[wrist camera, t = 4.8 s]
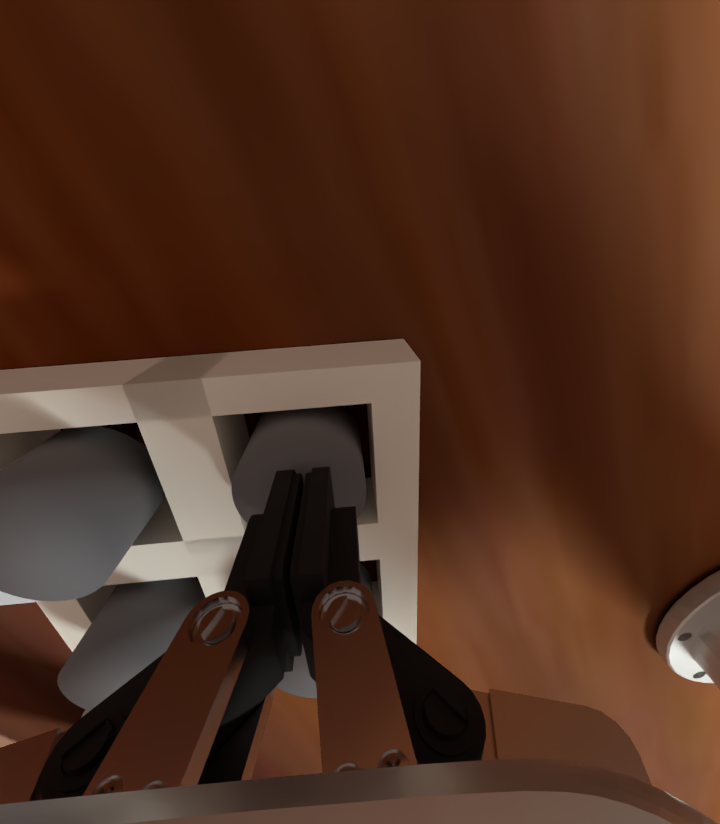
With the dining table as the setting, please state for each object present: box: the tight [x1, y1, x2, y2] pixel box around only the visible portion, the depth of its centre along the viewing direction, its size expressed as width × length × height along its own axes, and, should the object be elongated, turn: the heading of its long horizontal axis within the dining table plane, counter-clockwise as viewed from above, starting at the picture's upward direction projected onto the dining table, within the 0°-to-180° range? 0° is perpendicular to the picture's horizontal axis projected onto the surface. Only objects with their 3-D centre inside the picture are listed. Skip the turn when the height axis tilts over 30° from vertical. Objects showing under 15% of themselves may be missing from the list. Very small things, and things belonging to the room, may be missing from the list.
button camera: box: [0, 426, 165, 601], centre depth 11 cm, size 4×4×4 cm
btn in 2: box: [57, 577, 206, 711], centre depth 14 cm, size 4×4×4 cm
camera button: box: [232, 406, 366, 523], centre depth 13 cm, size 4×4×4 cm
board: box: [0, 339, 421, 652], centre depth 15 cm, size 16×15×3 cm
